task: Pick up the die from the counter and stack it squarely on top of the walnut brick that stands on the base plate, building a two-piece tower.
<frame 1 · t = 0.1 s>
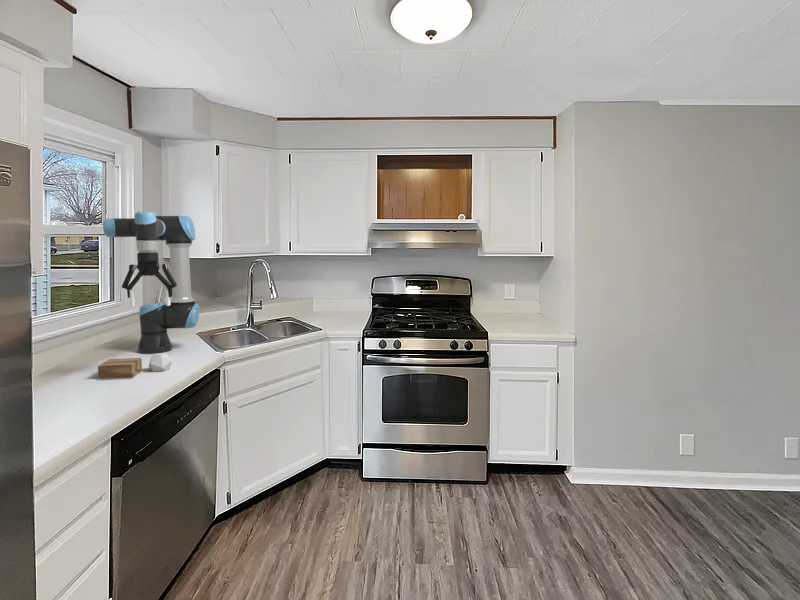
hand: (150, 305, 216), 28 cm above the worktop, tool pointing down, fingers open, 13 cm apart
base plate: (121, 377, 215), on the worktop
die: (161, 373, 222), on the worktop
walnut brick: (121, 374, 215), resting on base plate
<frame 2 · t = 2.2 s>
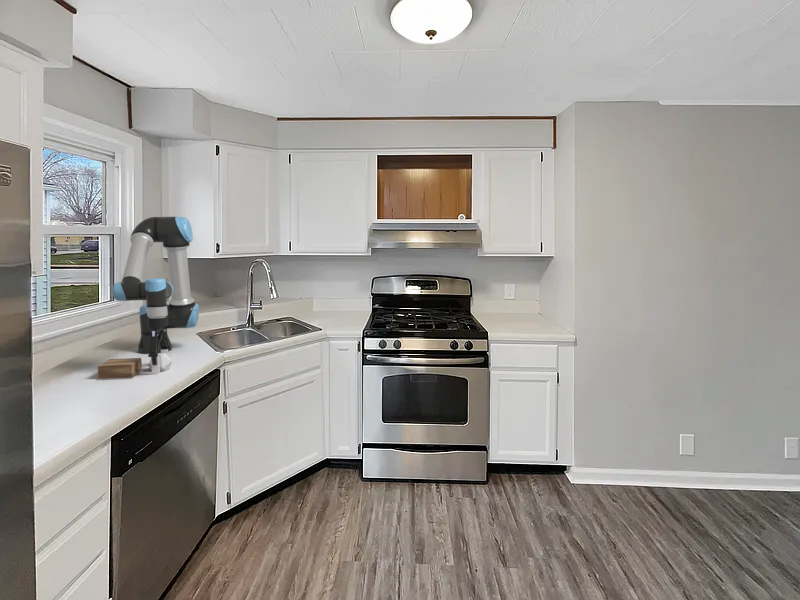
hand: (160, 368, 222), 2 cm above the worktop, tool pointing down, fingers open, 13 cm apart
nothing on the worktop moved.
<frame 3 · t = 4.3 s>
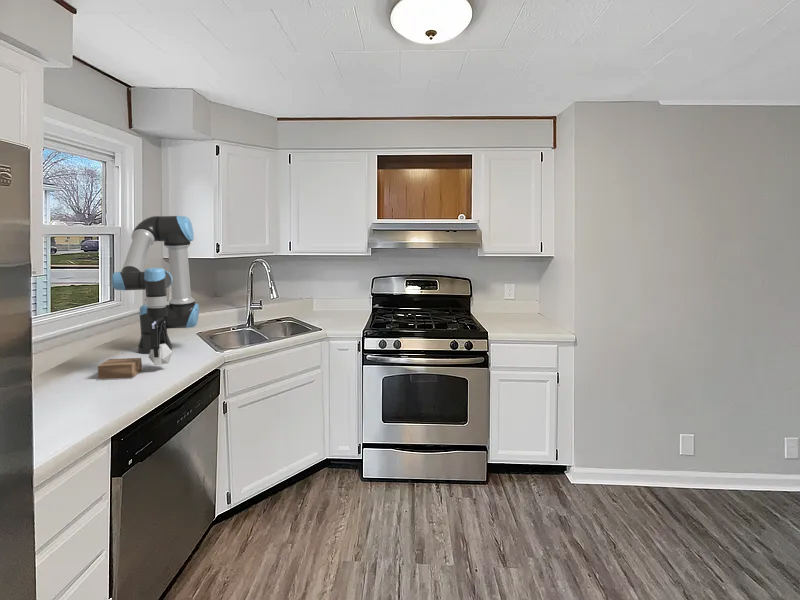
hand: (160, 362, 222), 4 cm above the worktop, tool pointing down, fingers closed on die, 8 cm apart
die: (161, 363, 222), point 3 cm above the worktop, touching gripper
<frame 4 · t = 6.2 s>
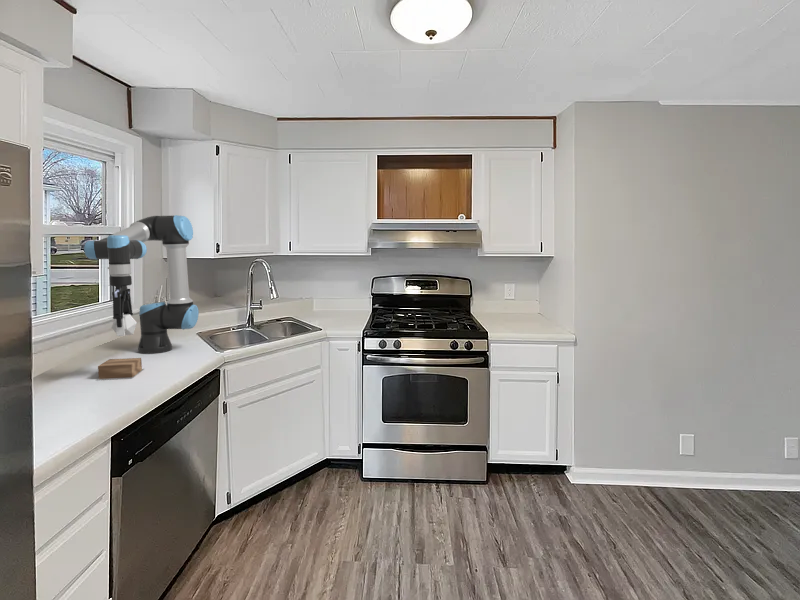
hand: (124, 333, 214), 17 cm above the worktop, tool pointing down, fingers closed on die, 8 cm apart
die: (125, 335, 214), point 17 cm above the worktop, touching gripper
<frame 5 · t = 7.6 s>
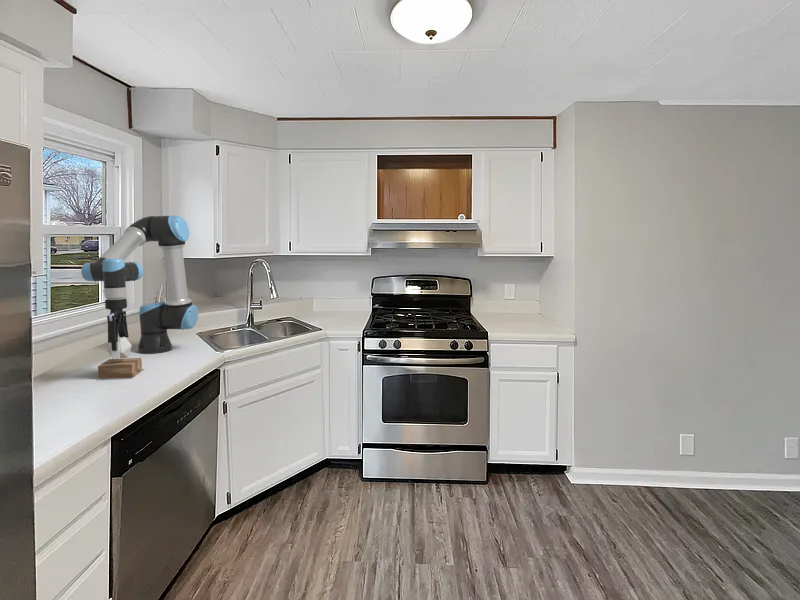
hand: (119, 356, 214), 8 cm above the worktop, tool pointing down, fingers closed on die, 8 cm apart
die: (120, 358, 214), point 8 cm above the worktop, touching gripper
when the fingers open (7 cm above the worktop, at t = 8.6 s): die stays where it is, resting on walnut brick.
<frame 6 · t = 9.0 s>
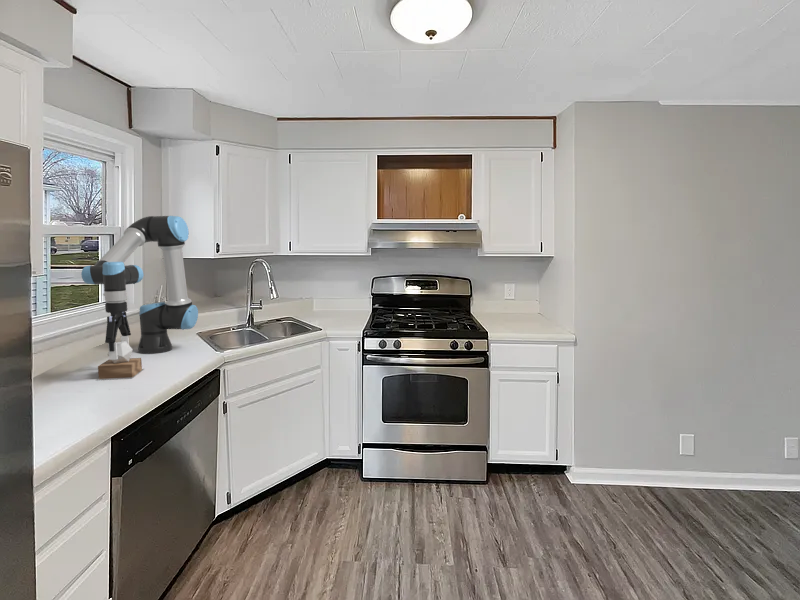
hand: (119, 355, 214), 9 cm above the worktop, tool pointing down, fingers open, 13 cm apart
die: (120, 362, 214), point 6 cm above the worktop, touching walnut brick
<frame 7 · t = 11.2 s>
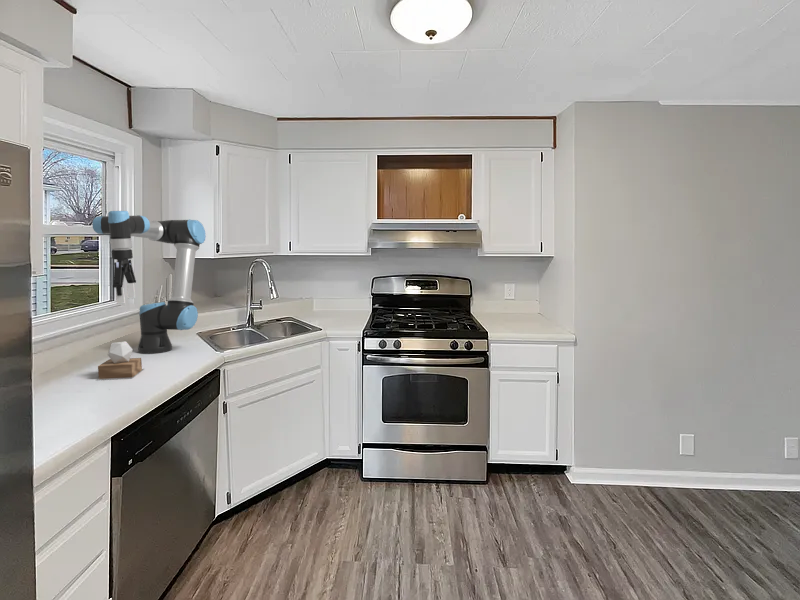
hand: (126, 301, 225), 29 cm above the worktop, tool pointing down, fingers open, 13 cm apart
nothing on the worktop moved.
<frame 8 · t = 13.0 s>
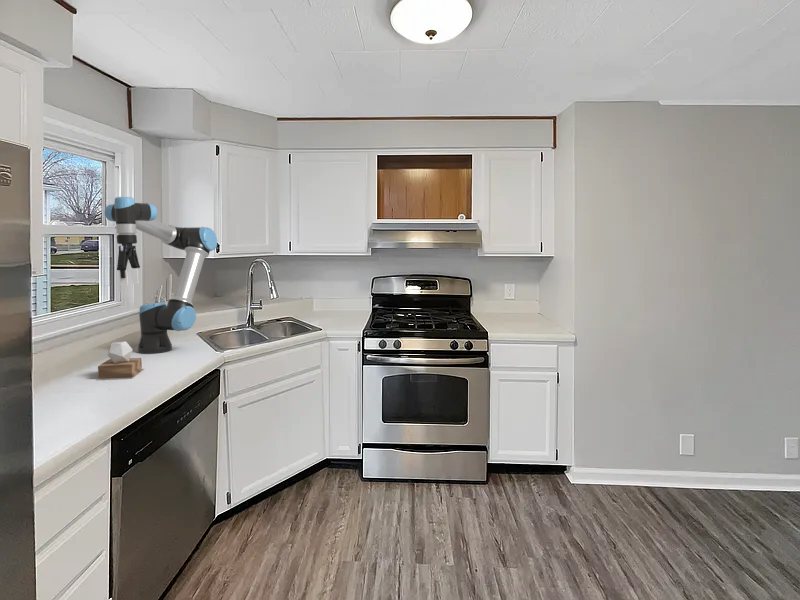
hand: (129, 284, 232), 35 cm above the worktop, tool pointing down, fingers open, 13 cm apart
nothing on the worktop moved.
at the end: die 0.3 cm off-centre on the walnut brick, point 4.8 cm above the walnut brick's base; die tilted 2°; the gripper is holding nothing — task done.
